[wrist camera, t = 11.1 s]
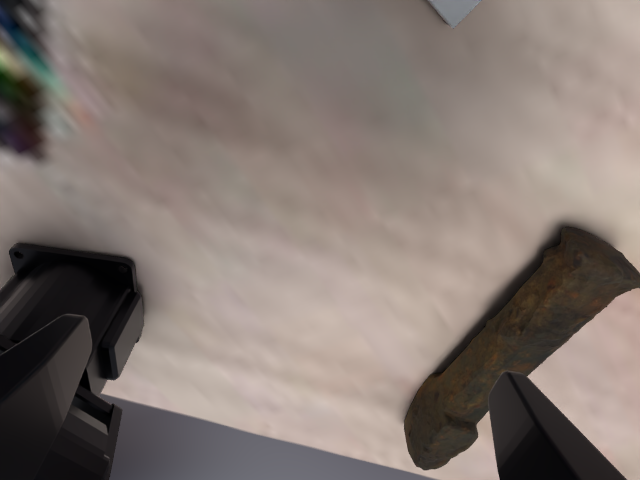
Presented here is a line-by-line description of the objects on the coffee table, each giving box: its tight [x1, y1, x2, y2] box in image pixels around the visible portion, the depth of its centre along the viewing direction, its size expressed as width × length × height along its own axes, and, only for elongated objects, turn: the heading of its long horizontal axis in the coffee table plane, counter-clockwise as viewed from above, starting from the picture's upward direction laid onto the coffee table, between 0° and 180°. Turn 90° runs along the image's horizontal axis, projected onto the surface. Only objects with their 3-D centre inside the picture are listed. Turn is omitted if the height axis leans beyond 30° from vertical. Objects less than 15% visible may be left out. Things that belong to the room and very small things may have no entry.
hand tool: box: [404, 227, 640, 470], centre depth 26 cm, size 19×4×5 cm, turn 153°
